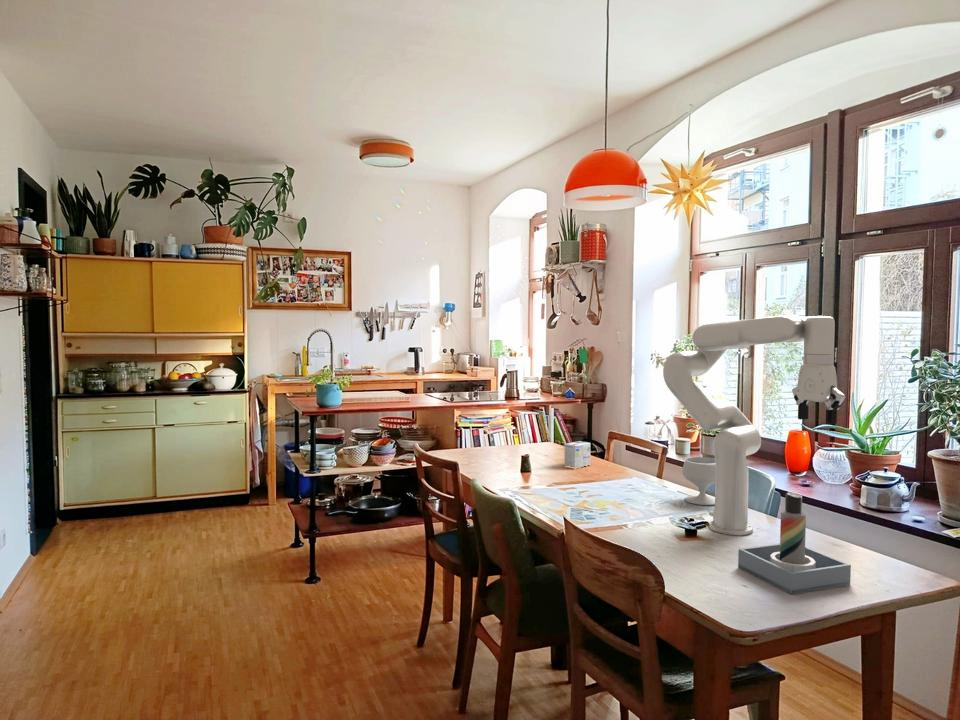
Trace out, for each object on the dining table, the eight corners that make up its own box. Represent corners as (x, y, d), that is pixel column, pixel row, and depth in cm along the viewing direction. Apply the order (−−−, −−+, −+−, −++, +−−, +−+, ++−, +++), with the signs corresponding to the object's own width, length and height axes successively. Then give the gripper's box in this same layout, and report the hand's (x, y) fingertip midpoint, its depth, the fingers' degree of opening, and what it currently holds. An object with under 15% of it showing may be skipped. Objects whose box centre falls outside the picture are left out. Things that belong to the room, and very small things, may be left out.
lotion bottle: (782, 566, 168) (784, 489, 167) (806, 571, 164) (808, 493, 163) (776, 572, 163) (778, 494, 162) (801, 578, 160) (803, 497, 159)
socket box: (738, 567, 169) (738, 548, 169) (793, 559, 175) (793, 541, 175) (791, 594, 152) (791, 573, 152) (850, 585, 158) (850, 564, 158)
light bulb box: (579, 464, 297) (579, 440, 296) (591, 466, 292) (591, 442, 291) (563, 467, 290) (563, 443, 289) (574, 469, 285) (575, 445, 284)
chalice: (707, 509, 223) (708, 466, 223) (673, 500, 235) (674, 459, 234) (731, 502, 232) (731, 461, 231) (697, 494, 243) (698, 454, 242)
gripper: (784, 359, 188) (782, 418, 188) (833, 362, 171) (831, 426, 172) (804, 358, 190) (802, 416, 191) (855, 361, 174) (853, 425, 174)
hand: (816, 421), depth 181 cm, fingers open, 9 cm apart
